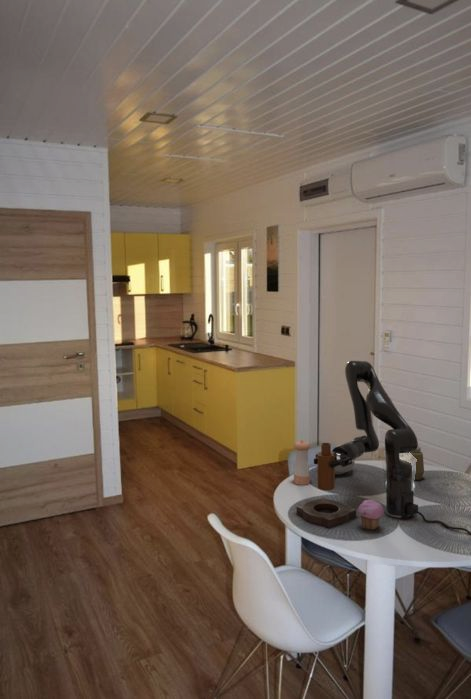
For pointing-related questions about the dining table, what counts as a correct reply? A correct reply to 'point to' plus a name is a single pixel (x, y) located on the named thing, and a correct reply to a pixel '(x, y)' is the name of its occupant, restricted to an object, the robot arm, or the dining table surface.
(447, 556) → the dining table surface
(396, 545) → the dining table surface
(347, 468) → the cereal bowl
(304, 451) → the pepper shaker
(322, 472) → the bottle
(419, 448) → the squeeze bottle
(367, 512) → the cupcake
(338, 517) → the board
